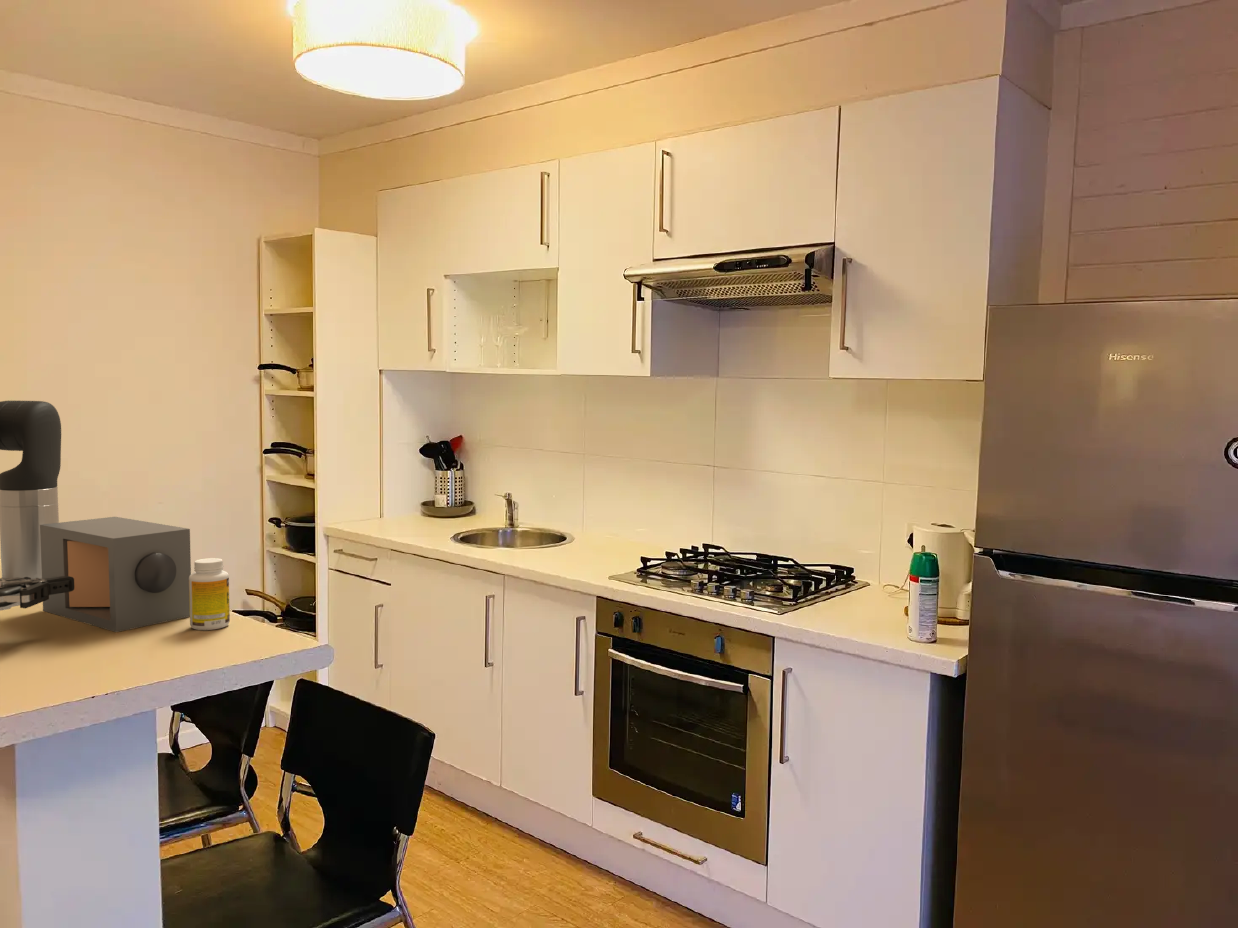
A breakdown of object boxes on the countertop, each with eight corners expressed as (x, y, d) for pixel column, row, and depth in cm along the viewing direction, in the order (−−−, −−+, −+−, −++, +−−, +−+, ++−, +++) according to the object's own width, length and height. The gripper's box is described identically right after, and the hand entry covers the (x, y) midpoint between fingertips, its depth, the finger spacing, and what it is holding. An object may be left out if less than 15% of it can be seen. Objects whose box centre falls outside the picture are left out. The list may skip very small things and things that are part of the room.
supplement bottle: (234, 627, 141) (233, 561, 140) (195, 633, 137) (194, 565, 136) (223, 620, 145) (222, 555, 144) (185, 625, 141) (184, 559, 141)
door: (67, 607, 144) (65, 541, 143) (72, 605, 146) (70, 539, 145) (148, 607, 145) (146, 541, 144) (153, 605, 146) (151, 540, 146)
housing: (43, 610, 149) (39, 524, 148) (117, 597, 159) (115, 516, 158) (119, 633, 137) (116, 539, 135) (195, 617, 147) (193, 529, 145)
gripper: (-45, 581, 119) (94, 562, 133) (-87, 570, 126) (48, 553, 140) (-43, 639, 119) (95, 614, 134) (-85, 624, 127) (50, 601, 141)
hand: (71, 583), depth 137 cm, fingers closed
